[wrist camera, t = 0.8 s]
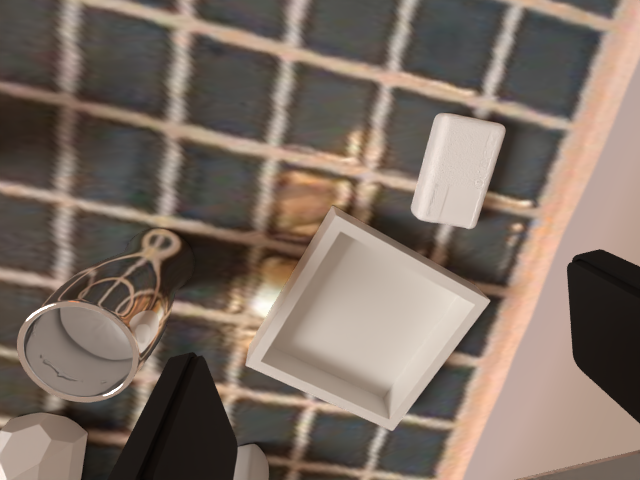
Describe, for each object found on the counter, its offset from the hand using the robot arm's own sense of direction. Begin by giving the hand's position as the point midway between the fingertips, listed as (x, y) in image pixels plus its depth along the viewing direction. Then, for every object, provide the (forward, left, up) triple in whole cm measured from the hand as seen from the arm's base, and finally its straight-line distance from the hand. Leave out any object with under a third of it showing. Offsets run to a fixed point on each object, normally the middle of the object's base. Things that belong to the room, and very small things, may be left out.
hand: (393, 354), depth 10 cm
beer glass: (+14, -9, -27) cm, 32 cm away
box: (+10, +10, -27) cm, 30 cm away
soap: (-6, +9, -28) cm, 30 cm away
